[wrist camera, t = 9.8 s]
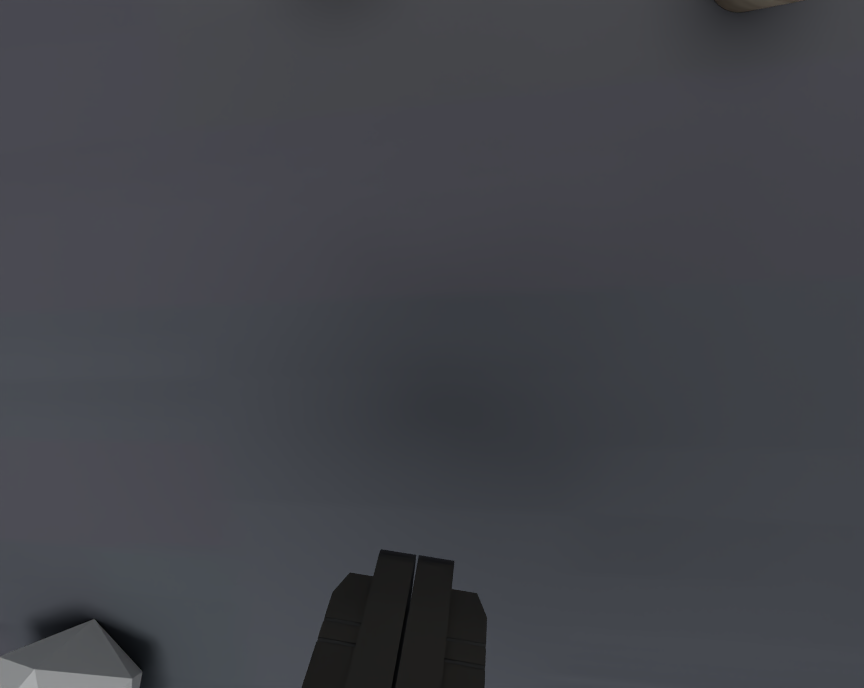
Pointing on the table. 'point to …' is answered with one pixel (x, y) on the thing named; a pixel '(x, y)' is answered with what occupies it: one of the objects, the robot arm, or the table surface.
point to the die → (71, 662)
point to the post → (750, 4)
